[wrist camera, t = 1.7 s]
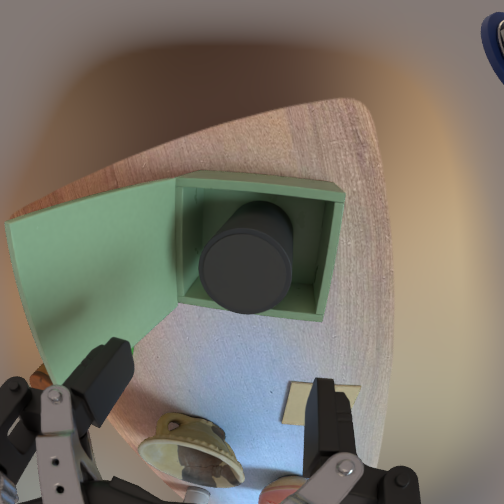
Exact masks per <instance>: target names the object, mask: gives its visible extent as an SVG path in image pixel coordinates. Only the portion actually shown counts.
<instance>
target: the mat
mask: <svg viewBox="0 0 504 504" xmlns="http://www.w3.org/2000/svg"><path fill="white" fill-rule="evenodd" d="M312 385H313V383H304V382H293V381H292V383H291V387H290V391H289V395H288V399H287V404H286V408H285V411H284V415H283V419H282V424H290V425H302V426H305V407H306V403H307V399H308V396H309V394H310V391H311V388H312ZM360 389H361V386H351V385H335V391H336V392H344V393H345V395H346V396H347V398H348V399H349V401H350V405H351V409H352V407H353V405H354V403H355V400H356V398H357V396H358V394H359V392H360Z"/></svg>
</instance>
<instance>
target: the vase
mask: <svg viewBox="0 0 504 504" xmlns="http://www.w3.org/2000/svg"><path fill="white" fill-rule="evenodd" d="M307 480H308V479H307V478H302V476H284V477H281V478H278V479H277V480H275V481H273V482H271V483H270V484H268V485H267V486H266V487H265V488H264V489H263V490H262V491H261V493H260V495H259V501H258V504H279V503H281V502H282V501H283V500H284V499H285V498H286V497H288V496H289V495H291V494H293V493H294V492H296V491H297V490H298V489H299V488H300V487H301V486H302V485H303V484H304V483H305V482H306V481H307Z"/></svg>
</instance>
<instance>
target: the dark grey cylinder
mask: <svg viewBox="0 0 504 504" xmlns="http://www.w3.org/2000/svg"><path fill="white" fill-rule="evenodd" d="M292 263H293V226H292V223H291V220H290V218H289V216H288V215H287V214H286V212H285V211H284V210H283V209H281V208H280V207H279V206H277V205H276V204H273V203H271V202H268V201H252V202H249V203H246V204H244V205H242V206H241V207H240V208H238V209H237V210H236V211H235V212H234V214H233V215H232V216H231V217H230V218H229V219H228V220H227V221H226V222H225V223H224V225H223V226H222V227H221V228H220V229H219V230H218V231H217V232H216V234H215V235H214V236H213V237H212V238H211V239H210V240H209V241H208V243H207V244H206V245H205V247H204V249H203V250H202V252H201V255H200V259H199V266H198V270H199V277H200V281H201V284H202V286H203V288H204V290H205V291H206V293H207V294H208V295H209V297H210V298H211V299H212V300H213V301H214V302H216V303H217V304H218V305H220V306H221V307H223V308H225V309H227V310H229V311H232V312H235V313H239V314H258V313H262V312H265V311H267V310H270V309H271V308H273V307H275V306H276V305H277V304H279V303H280V302H281V301H282V300H283V298H284V297H285V296H286V294H287V292H288V290H289V288H290V285H291V281H292Z"/></svg>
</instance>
